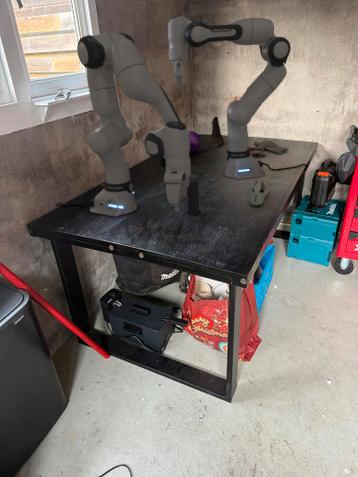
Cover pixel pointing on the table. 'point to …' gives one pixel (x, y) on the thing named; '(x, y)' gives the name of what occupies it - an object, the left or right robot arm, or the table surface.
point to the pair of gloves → (268, 146)
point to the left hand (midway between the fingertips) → (180, 205)
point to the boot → (216, 133)
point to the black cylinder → (193, 198)
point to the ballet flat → (258, 193)
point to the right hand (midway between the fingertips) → (179, 86)
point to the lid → (194, 178)
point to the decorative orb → (194, 142)
